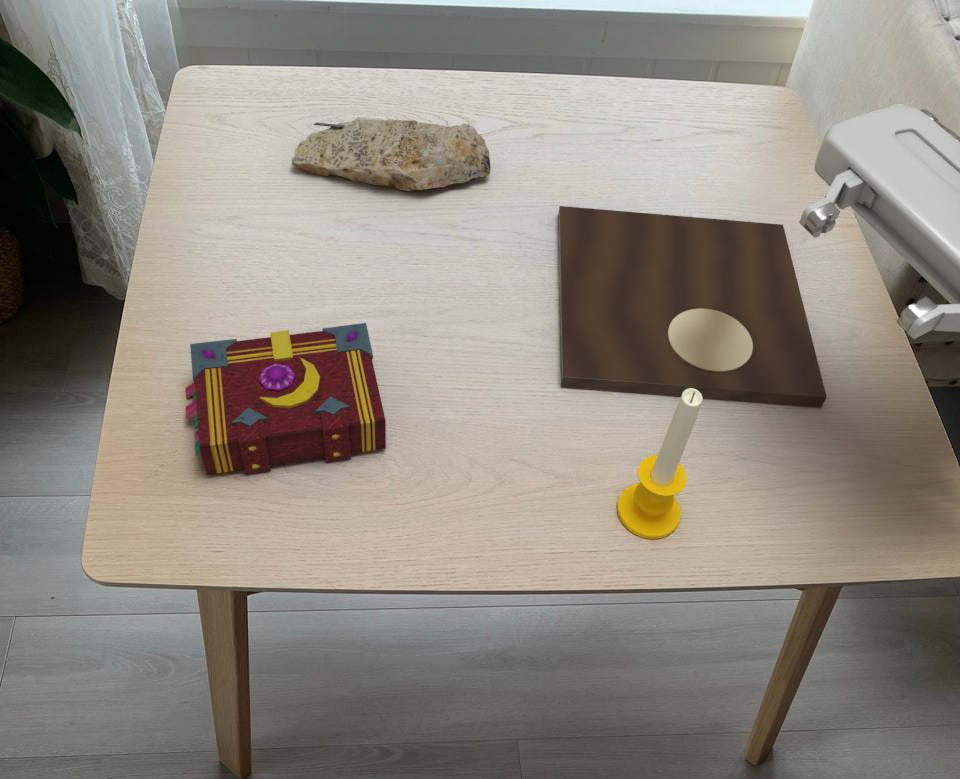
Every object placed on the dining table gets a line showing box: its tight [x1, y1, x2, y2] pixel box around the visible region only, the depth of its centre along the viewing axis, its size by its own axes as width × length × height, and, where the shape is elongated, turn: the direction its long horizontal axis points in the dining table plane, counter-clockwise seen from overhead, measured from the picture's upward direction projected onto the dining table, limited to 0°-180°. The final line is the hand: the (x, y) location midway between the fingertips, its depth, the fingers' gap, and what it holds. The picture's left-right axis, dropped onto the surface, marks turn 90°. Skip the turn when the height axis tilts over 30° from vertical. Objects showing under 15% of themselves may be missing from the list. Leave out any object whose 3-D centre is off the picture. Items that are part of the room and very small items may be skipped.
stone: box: [291, 117, 492, 192], centre depth 103 cm, size 21×6×10 cm
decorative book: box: [184, 322, 387, 476], centre depth 80 cm, size 11×16×5 cm
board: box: [557, 205, 828, 408], centre depth 94 cm, size 24×24×2 cm
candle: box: [616, 388, 703, 540], centre depth 72 cm, size 5×5×16 cm
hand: (855, 272), depth 60 cm, fingers open, 8 cm apart
